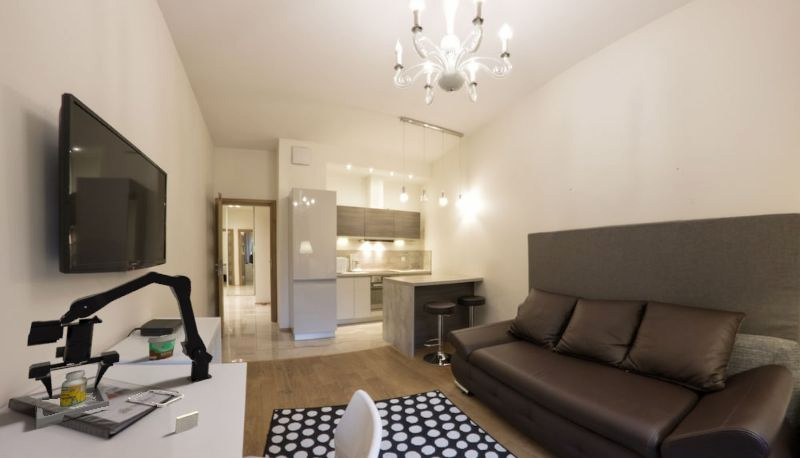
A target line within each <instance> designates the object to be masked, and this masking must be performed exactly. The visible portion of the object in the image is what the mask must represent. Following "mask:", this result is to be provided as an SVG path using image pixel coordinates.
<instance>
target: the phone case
mask: <svg viewBox="0 0 800 458" xmlns="http://www.w3.org/2000/svg"><path fill="white" fill-rule="evenodd" d="M157 390H158V391H161V392H160V393H162V392H166V393H170V394H173V395H174V396H173V397H176V398H174V399H171V400H169V401H167V402H165V403H158V402H157V403H156V402H155V403H156V404H157V407H156V408H165V407H167V405H168V404H169V403H172V402H174V401H176V400H179V399H180V400H182V399H184V398H185V395H184V394H182V393H176V392H170V391H164V390H160V389H157ZM140 393H141V392H140ZM140 393H137V394H135V395H138V394H140ZM135 395H132V396H129V397H127V400H128V399H131V398H130V397H133V396H135ZM134 399H135V400H138V398H134ZM152 403H154V402H153V401H152Z"/></svg>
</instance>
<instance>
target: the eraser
mask: <svg viewBox="0 0 800 458" xmlns="http://www.w3.org/2000/svg"><path fill="white" fill-rule="evenodd" d="M199 413H200V412H199V411H198V410H196V411H192V412H189V413H185V414H183V415H179V416H177V417H175V430H174V432H175V433H176V434H179V433H181V432H185V431H187V430H190V429H193V428H196V427H198V426H199Z"/></svg>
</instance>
